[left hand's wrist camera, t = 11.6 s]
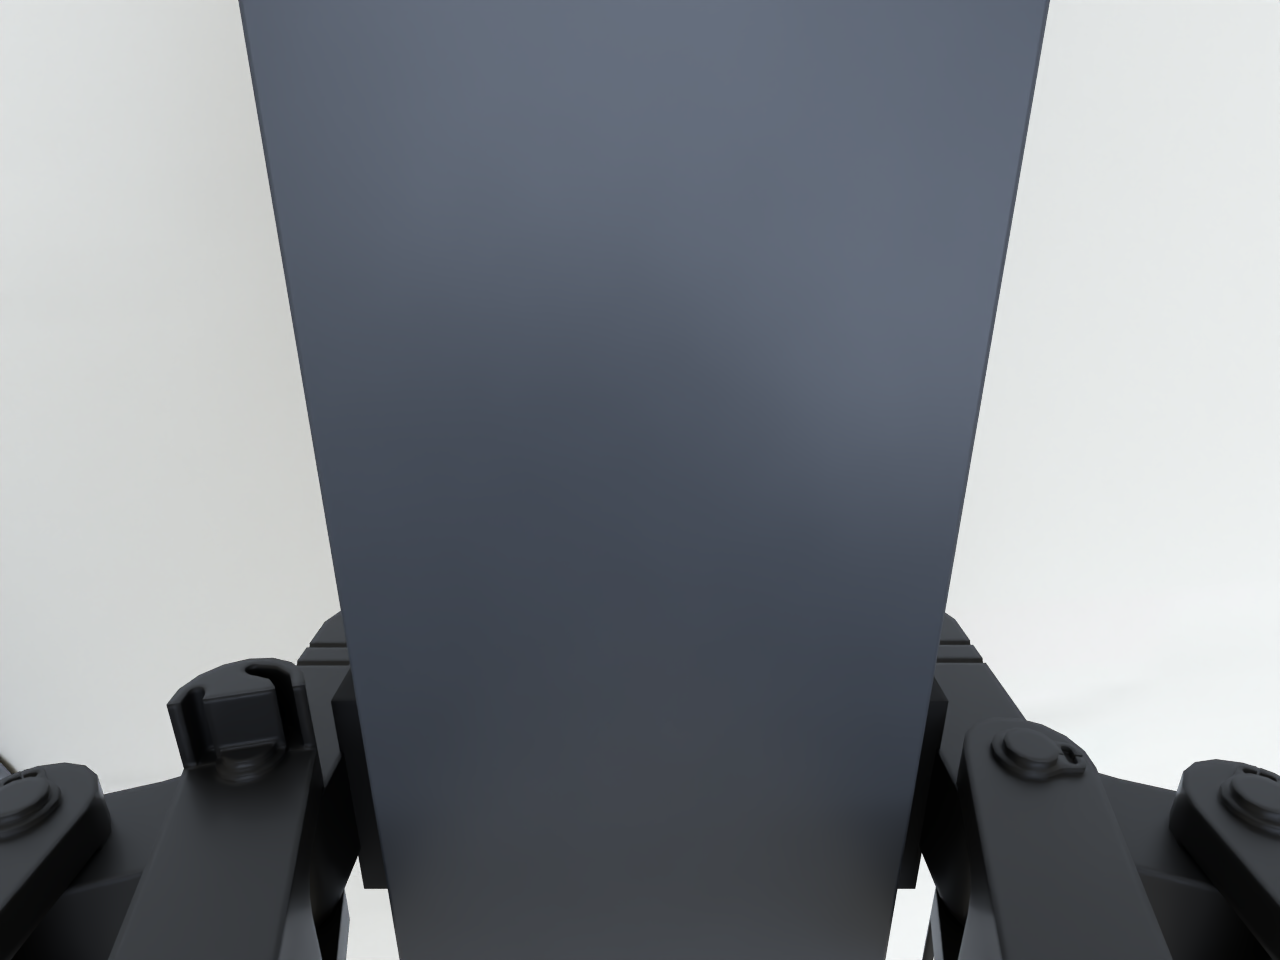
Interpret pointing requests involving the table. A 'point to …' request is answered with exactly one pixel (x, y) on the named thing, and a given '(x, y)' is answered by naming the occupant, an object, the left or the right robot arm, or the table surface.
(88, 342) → the table surface
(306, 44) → the bar
